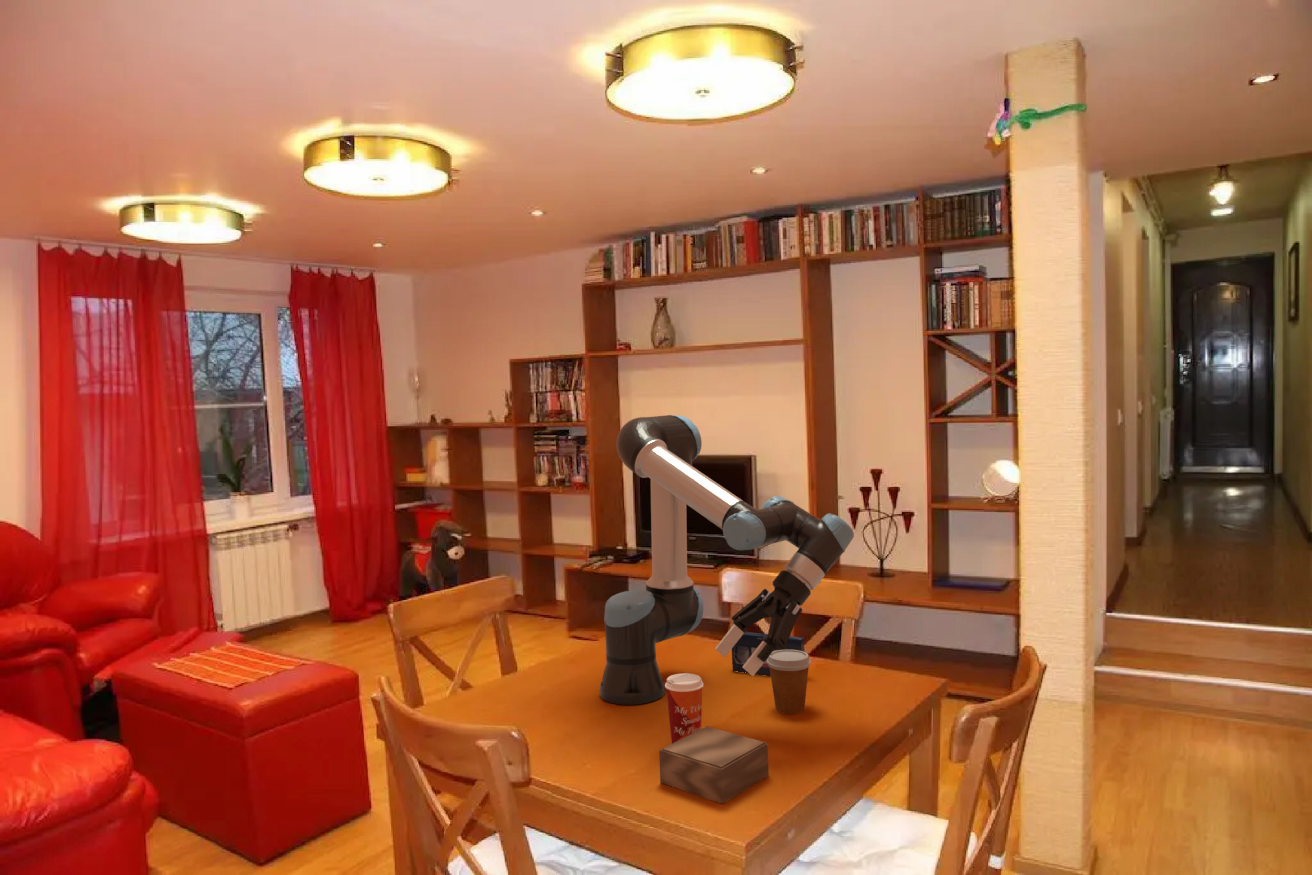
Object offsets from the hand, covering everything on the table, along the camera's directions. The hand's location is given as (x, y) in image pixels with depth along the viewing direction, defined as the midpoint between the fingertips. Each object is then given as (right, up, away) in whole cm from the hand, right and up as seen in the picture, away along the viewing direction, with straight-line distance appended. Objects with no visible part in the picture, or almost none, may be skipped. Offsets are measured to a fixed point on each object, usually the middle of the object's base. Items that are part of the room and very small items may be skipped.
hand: (732, 662), depth 179 cm
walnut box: (-5, -17, -17) cm, 24 cm away
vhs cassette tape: (+12, -14, +41) cm, 45 cm away
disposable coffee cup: (+14, -15, +17) cm, 26 cm away
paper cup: (-9, -17, -2) cm, 19 cm away
